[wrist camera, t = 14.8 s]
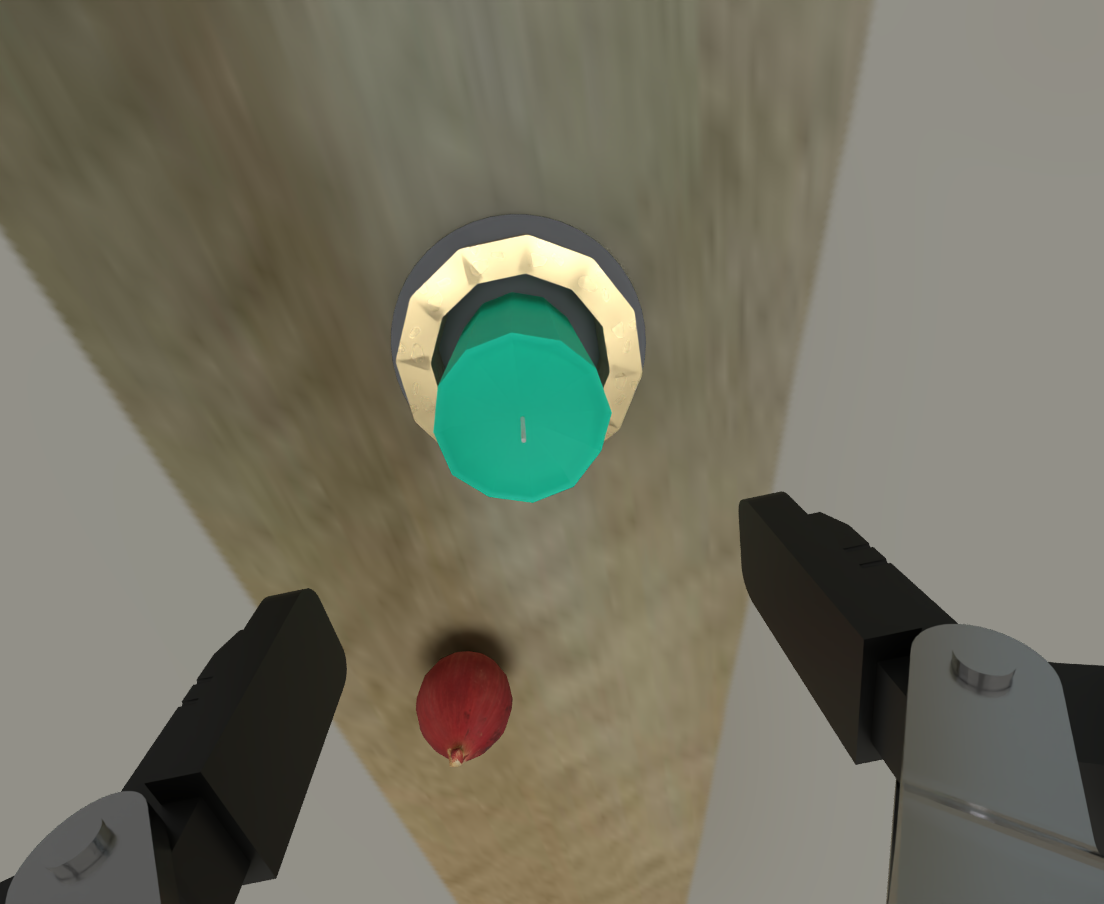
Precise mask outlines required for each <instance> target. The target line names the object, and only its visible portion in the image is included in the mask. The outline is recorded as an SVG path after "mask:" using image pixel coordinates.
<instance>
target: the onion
mask: <svg viewBox="0 0 1104 904" xmlns="http://www.w3.org/2000/svg"><path fill="white" fill-rule="evenodd" d="M512 700H513V699H512V695H511V690H510V686H509V683H508V679H507V676H506V674H505V673H504V672H503V671H502V670H501V668H500V667H499V666H498V665H497V664H496V662H495V661H494V660H493V659H491V658H489V657H487V656H486V655H484V654H482V653H477V652H471V651H465V652H456V653H453V654H451V655H448V656H446V657H444V658H442V659H440V660H439V661H438V662H437V664H436V665H435V666H434V667H433V668H432V669H431V670H430V671H429V672H428V673H427V674H426V675H425V677H424V680H423V682H422V685H421V688H420V690H419V693H418V696H417V702H416V711H417V716H418V721H419V725H420V730H421V732H422V734H423V736H424V738H425V739H426V741H427V742H428V743H429V744H430V745H431V746H432V748H433V749H434V750H435V751H436V752H438V753H439V754H441V755H443V756H444V757H446V758H448V759H449V761H450V766H451V767H457V766H461V765H462V764H463V762H466V761H468V760H471V759H473V758H476V757H478V756H480V755H482V754H484V753H485V752H486V751H487V750H488V749H489V748H490V747H491V746H492V745H493V744H494V743H495V742H496V741H497V740H498V739H499V738H500V737H501V735H502V734H503V733H504V730H505V728H506V725H507V722H508V719H509V716H510V713H511V709H512Z"/></svg>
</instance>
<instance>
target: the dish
mask: <svg viewBox="0 0 1104 904" xmlns="http://www.w3.org/2000/svg"><path fill="white" fill-rule="evenodd" d="M524 233H527V234H530V235H532V236H535V237H538V238H541V239H543V240H546V241H549V242H552V243H554V244H557V245H560V246H563V247H565V248H568V249H571V250H573V251H576V252H579V253H582V254H584V255H586V256H589V257H591V258H593V259H594V260H595V262H596V263H597V264H598V265H599V267H600V268H601V269H602V270H603V272H604V273H605V274H606V276H607V277H608V278H609V279H610V281H611V282H612V283H613V284H614V286H615V287H616V288H617V289H618V291H619V292H620V293H621V294H622V296H623V297H624V298H625V300H626V301H627V302H628V303H629V305H630V306H631V307H632V308H633V310H634V312H635V320H636V327H637V335H638V343H639V350H640V358H641V366H642V370H643V365H644V360H645V348H646V337H645V324H644V319H643V314H642V309H641V306H640V303H639V300H638V297H637V294H636V292H635V290H634V288H633V286H632V284H631V282H630V280H629V278H628V277H627V275H626V274H625V272H624V271H623V269H622V268H621V266H620V265H619V263H618V262H617V261H616V260H615V259H614V258H613V257H612V256H611V254H610V253H609V252H608V251H607V250H606V249H605V248H603V247H602V246H601V245H600V244H599V243H597V242H596V241H595V240H594V239H592V238H591V237H589V236H588V235H586V234H585V233H583V232H581V231H580V230H578V229H576V228H574V227H572V226H569V225H567V224H565V223H563V222H560V221H556V220H553V219H550V218H546V217H541V216H534V215H527V214H508V215H501V216H494V217H488V218H485V219H482V220H478V221H475V222H472V223H470V224H467V225H465V226H463V227H461V228H459V229H457V230H455V231H453V232H452V233H450V234H449V235H447V236H446V237H444V238H442V239H441V240H440V241H439V242H437V243H436V244H435V245H434V246H433V247H432V248H431V249H429V250H428V251H427V252H426V253H425V255H424V256H423V257H422V258H421V259H420V260H419V262H418V263H417V264H416V265H415V267H414V268H413V270H412V271H411V273H410V275H409V276H408V278H407V279H406V281H405V283H404V286H403V288H402V290H401V292H400V294H399V297H398V300H397V304H396V307H395V310H394V315H393V322H392V328H391V350H392V358H393V365H394V368H395V372H396V376H397V380H398V382H399V385H400V387H401V390H402V392H403V395H404V396H405V398H406V400H407V402H408V398H407V395H406V392H405V389H404V386H403V383H402V380H401V377H400V374H399V371H398V367H397V364H396V357H397V353H398V349H399V344H400V340H401V336H402V331H403V327H404V323H405V318H406V314H407V310H408V306H409V301H410V298H411V296H412V295H413V294H414V293H415V292H416V291H417V290H418V289H419V288H420V287H421V286H422V285H423V284H424V283H425V282H427V281H428V280H429V279H430V278H431V277H432V276H433V275H434V274H435V273H436V272H437V271H438V270H439V269H440V268H441V267H442V266H443V265H444V264H445V263H446V262H447V261H448V260H449V259H450V258H451V257H452V256H453V255H454V254H455V253H456V252H457V251H458V250H459V249H461V248H463V247H465V246H468V245H473V244H478V243H482V242H487V241H492V240H496V239H501V238H506V237H510V236H515V235H520V234H524ZM511 292H515V293H521V294H527V295H533V296H539V297H543V298H545V299H546V300H547V301H548V302H549V303H551V304H552V305H553V306H554V307H555V308H556V309H558V310H559V311H560V312H561V313H562V314H564V315H565V316H566V317H567V318H568V320H569V322H570V324H571V325H572V327H573V329H574V331H575V332H576V334H577V336H578V338H579V339H580V341H581V343H582V345H583V346H584V348H585V350H586V351H587V353H588V355H589V357H590V358H591V360H592V362H593V364H594V365H595V367H597V364H598V362H599V359H600V352H599V346H598V340H597V334H596V327H595V321H594V316H593V314H592V313H591V312H590V311H589V310H588V308H587V307H586V306H585V305H584V304H583V302H582V301H581V300H580V299H579V298H578V296H577V295H576V294H575V293H574V291H573V290H572V289H569V288H566V287H563V286H560V285H558V284H555V283H552V282H549V281H546V280H543V279H540V278H538V277H535V276H532V275H529V274H526V273H525V274H521V275H516V276H511V277H507V278H502V279H497V280H493V281H488V282H483V283H479V284H477V285H476V286H474V287H473V288H472V289H471V290H470V291H469V292H468V293H467V294H466V295H465V296H464V297H463V298H462V299H461V300H460V301H459V302H458V303H457V304H456V305H455V306H454V307H453V308H452V309H451V310H449V311H448V315H447V319H446V323H445V327H444V330H443V334H442V338H441V342H440V346H439V351H440V355H441V358H442V362H443V365H444V369H446V367H447V365H448V362H449V360H450V358H451V356H452V354H453V351H454V349H455V347H456V345H457V343H458V340H459V338H460V336H461V334H462V331H463V329H464V328H465V326H466V325H467V324H468V322H469V321H470V320H471V318H472V317H473V316H474V314H475V313H476V312H477V310H478V309H479V308H480V306H481V305H482V304H483V303H485V302H488V301H490V300H493V299H496V298H498V297H501V296H503V295H506V294H508V293H511ZM638 384H639V383H638ZM637 387H638V386H637ZM636 390H637V388H636ZM636 390H635V392H636ZM634 394H635V393H634ZM633 396H634V395H633ZM408 404H409V402H408Z"/></svg>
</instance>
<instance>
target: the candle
mask: <svg viewBox="0 0 1104 904" xmlns="http://www.w3.org/2000/svg"><path fill="white" fill-rule="evenodd" d="M611 414H612V411H611V409H610V406H609V403H608V400H607V397H606V395H605V392H604V389H603V386H602V383H601V380H600V378H599V375H598V372H597V369H596V367H595V365H594V364H593V362H592V360H591V358H590V357H589V355H588V353H587V351H586V350H585V348H584V346H583V345H582V343H581V341H580V339H579V338H578V336H577V334H576V332H575V331H574V329H573V327H572V325H571V324H570V322H569V320H568V318H567V317H566V316H565V315H564V314H562V313H561V312H560V311H559V310H558V309H556V308H555V307H554V306H553V305H552V304H551V303H549V302H548V301H547V300H546V299H545V298H543V297H539V296H533V295H527V294H521V293H515V292H511V293H508V294H506V295H503V296H501V297H498V298H496V299H493V300H490V301H488V302H485V303H483V304H482V305H481V306H480V308H479V309H478V310H477V312H476V313H475V314H474V316H473V317H472V318H471V320H470V321H469V322H468V324H467V325H466V326H465V328H464V329H463V331H462V334H461V336H460V338H459V340H458V343H457V345H456V347H455V349H454V351H453V354H452V356H451V358H450V360H449V362H448V365H447V367H446V369H445V371H444V374H443V376H442V378H441V380H440V382H439V385H438V388H437V399H436V409H435V419H434V429H433V433H434V435H435V438H436V440H437V442H438V444H439V446H440V449H441V451H442V453H443V455H444V458H445V460H446V462H447V464H448V467H449V469H450V471H451V473H452V475H454V476H455V477H457V478H458V479H460V480H462V481H463V482H465V483H467V484H468V485H470V486H472V487H473V488H475V489H477V490H478V491H480V492H482V493H483V494H485V495H487V496H488V497H493V498H501V499H509V500H516V501H524V502H531V503H533V502H536V501H538V500H541V499H544V498H546V497H549V496H551V495H554V494H556V493H559V492H561V491H564V490H567V489H569V488H572V487H574V486H575V484H576V483H577V482H578V480H579V479H580V478H581V477H582V475H583V474H584V473H585V471H586V470H587V469H588V467H589V466H590V465H591V464H592V462H593V461H594V460H595V458H596V457H597V456H598V454H599V453H600V452H601V450H602V446H603V443H604V439H605V436H606V432H607V429H608V425H609V421H610V418H611Z"/></svg>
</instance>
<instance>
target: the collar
mask: <svg viewBox="0 0 1104 904" xmlns="http://www.w3.org/2000/svg"><path fill="white" fill-rule="evenodd" d="M525 273H526V274H529V275H532V276H535V277H538V278H540V279H543V280H546V281H549V282H552V283H555V284H558V285H560V286H563V287H566V288H569V289H572V290H573V291H574V293H575V294H576V295H577V296H578V298H579V299H580V300H581V301H582V302H583V304H584V305H585V306H586V307H587V308H588V310H589V311H590V312H591V313H592V314H593V316H594V321H595V327H596V334H597V340H598V346H599V352H600V359H599V362H598V364H597V367H596V369H597V372H598V375H599V378H600V380H601V383H602V386H603V389H604V392H605V395H606V397H607V400H608V403H609V406H610V409H611V411H612V414H611V418H610V421H609V425H608V429H607V432H606V436H605V439H604V441H606V440H607V439H608V438H609V437H611V436H612V435H613V434H614V433H616V432H617V431H618V430H619V429H620V427H621V424H622V422H623V420H624V417H625V415H626V412H627V410H628V407H629V405H630V403H631V400H632V398H633V395H634V393H635V390H636V388H637V386H638V383H639V381H640V378H641V376H642V366H641V358H640V350H639V343H638V335H637V327H636V320H635V312H634V310H633V308H632V307H631V306H630V305H629V303H628V302H627V301H626V300H625V298H624V297H623V296H622V294H621V293H620V292H619V291H618V289H617V288H616V287H615V286H614V284H613V283H612V282H611V281H610V279H609V278H608V277H607V276H606V274H605V273H604V272H603V270H602V269H601V268H600V267H599V265H598V264H597V263H596V262H595V260H594V259H593V258H591V257H589V256H586V255H584V254H582V253H579V252H576V251H573V250H571V249H568V248H565V247H563V246H560V245H557V244H554V243H552V242H549V241H546V240H543V239H541V238H538V237H535V236H532V235H530V234H527V233H524V234H520V235H515V236H510V237H506V238H501V239H496V240H492V241H487V242H482V243H478V244H473V245H468V246H465V247H463V248H461V249H459V250H458V251H457V252H456V253H455V254H454V255H453V256H452V257H451V258H450V259H449V260H448V261H447V262H446V263H445V264H444V265H443V266H442V267H441V268H440V269H439V270H438V271H437V272H436V273H435V274H434V275H433V276H432V277H431V278H430V279H429V280H428V281H427V282H425V283H424V284H423V285H422V286H421V287H420V288H419V289H418V290H417V291H416V292H415V293H414V294H413V295H412V296H411V298H410V301H409V306H408V310H407V314H406V318H405V323H404V327H403V331H402V336H401V340H400V344H399V349H398V353H397V357H396V364H397V367H398V371H399V374H400V377H401V380H402V383H403V386H404V389H405V392H406V395H407V398H408V402H409V405H410V408H411V411H412V414H413V417H414V420H415V422H416V423H417V424H418V425H419V426H420V427H422V428H423V429H424V430H425V431H426V432H427V433H428V434H429V435H430V436H431V437H432V438H433V439H434V440H436V438H435V435H434V433H433V429H434V419H435V409H436V399H437V388H438V385H439V382H440V380H441V378H442V376H443V374H444V371H445V369H444V365H443V362H442V358H441V355H440V351H439V346H440V342H441V338H442V334H443V330H444V327H445V323H446V319H447V315H448V311H449V310H451V309H452V308H453V307H454V306H455V305H456V304H457V303H458V302H459V301H460V300H461V299H462V298H463V297H464V296H465V295H466V294H467V293H468V292H469V291H470V290H471V289H472V288H473V287H474V286H476V285H477V284H479V283H483V282H488V281H493V280H497V279H502V278H507V277H511V276H516V275H521V274H525ZM436 441H437V440H436Z"/></svg>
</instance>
